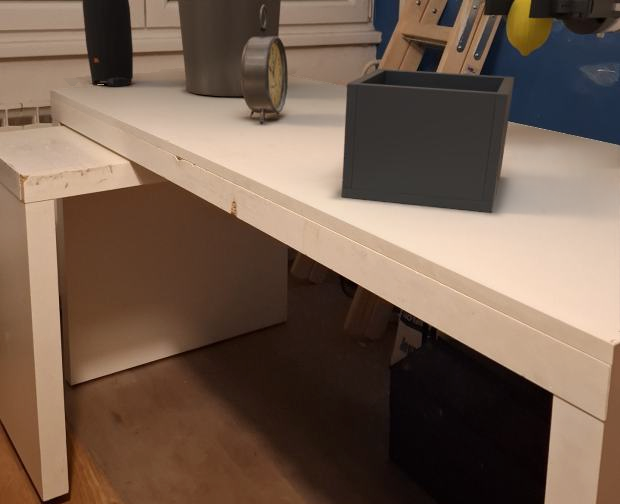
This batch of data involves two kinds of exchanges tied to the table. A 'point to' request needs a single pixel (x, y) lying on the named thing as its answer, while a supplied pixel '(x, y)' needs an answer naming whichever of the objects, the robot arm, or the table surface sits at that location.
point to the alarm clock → (264, 73)
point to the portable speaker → (109, 41)
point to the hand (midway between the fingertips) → (510, 4)
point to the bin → (426, 138)
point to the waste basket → (221, 40)
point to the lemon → (526, 28)
